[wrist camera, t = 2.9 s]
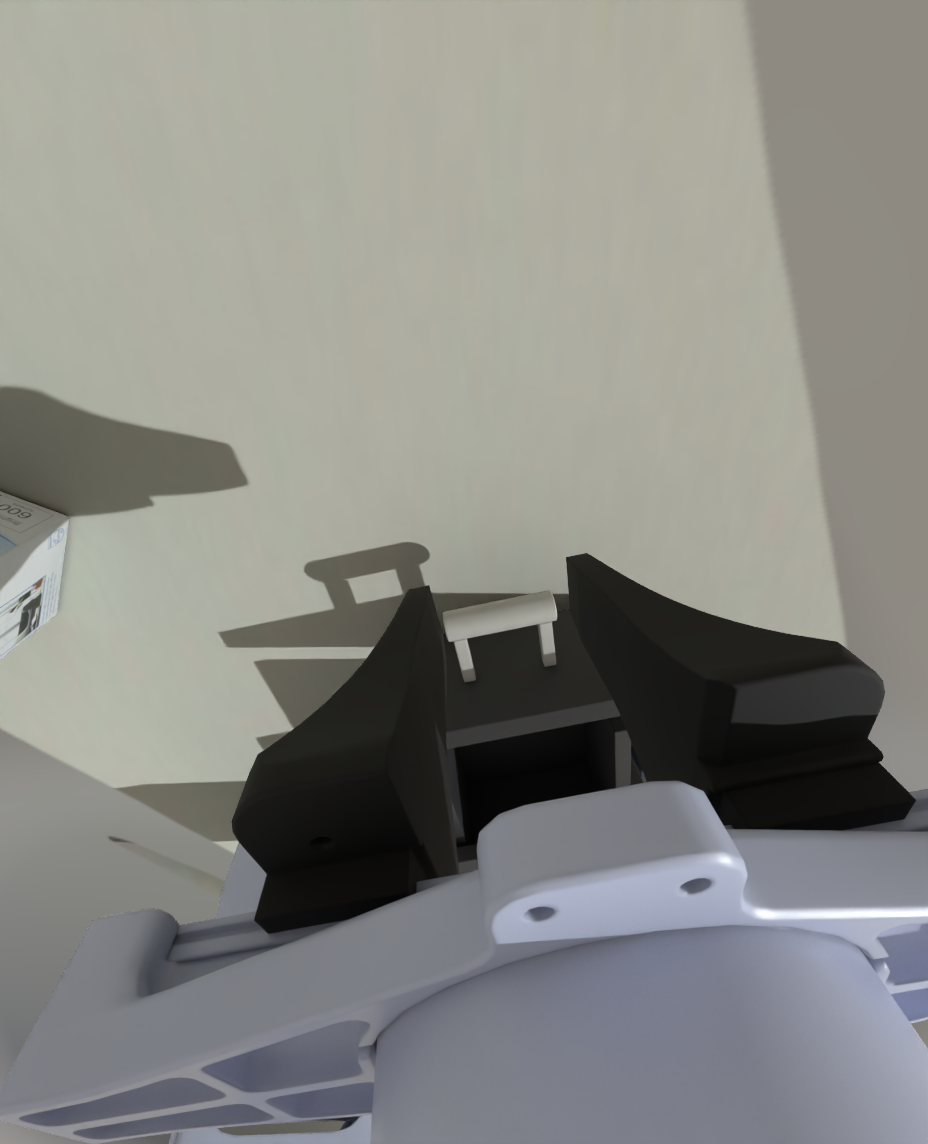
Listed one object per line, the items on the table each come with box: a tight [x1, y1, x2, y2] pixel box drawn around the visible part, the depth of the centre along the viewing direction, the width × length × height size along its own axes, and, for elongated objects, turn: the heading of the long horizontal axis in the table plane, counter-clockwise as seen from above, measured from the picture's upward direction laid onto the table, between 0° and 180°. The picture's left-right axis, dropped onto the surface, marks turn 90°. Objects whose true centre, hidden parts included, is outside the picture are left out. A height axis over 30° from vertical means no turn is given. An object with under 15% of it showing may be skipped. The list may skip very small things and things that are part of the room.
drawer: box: [443, 591, 631, 848], centre depth 24 cm, size 18×11×7 cm, turn 11°
